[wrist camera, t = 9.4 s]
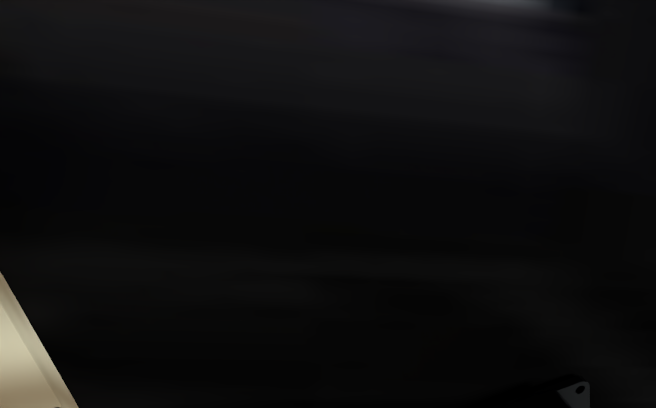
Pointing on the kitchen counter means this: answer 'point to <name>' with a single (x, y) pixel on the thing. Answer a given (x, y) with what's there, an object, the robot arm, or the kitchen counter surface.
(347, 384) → the kitchen counter surface
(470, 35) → the kitchen counter surface
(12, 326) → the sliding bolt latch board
